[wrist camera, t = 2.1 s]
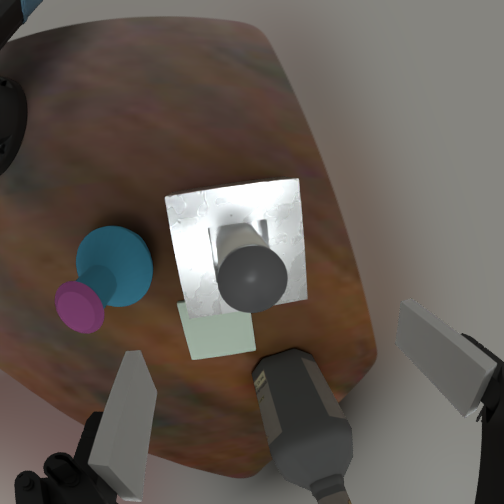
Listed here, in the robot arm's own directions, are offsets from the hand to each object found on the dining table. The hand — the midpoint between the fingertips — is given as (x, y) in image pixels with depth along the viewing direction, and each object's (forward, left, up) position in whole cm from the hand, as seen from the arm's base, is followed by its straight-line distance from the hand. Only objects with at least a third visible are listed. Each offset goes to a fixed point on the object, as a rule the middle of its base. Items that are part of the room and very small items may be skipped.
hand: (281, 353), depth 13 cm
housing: (0, 0, -23) cm, 23 cm away
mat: (+11, -4, -23) cm, 26 cm away
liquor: (+22, +4, -23) cm, 32 cm away
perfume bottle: (0, -14, -23) cm, 27 cm away
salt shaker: (0, 0, -21) cm, 21 cm away
